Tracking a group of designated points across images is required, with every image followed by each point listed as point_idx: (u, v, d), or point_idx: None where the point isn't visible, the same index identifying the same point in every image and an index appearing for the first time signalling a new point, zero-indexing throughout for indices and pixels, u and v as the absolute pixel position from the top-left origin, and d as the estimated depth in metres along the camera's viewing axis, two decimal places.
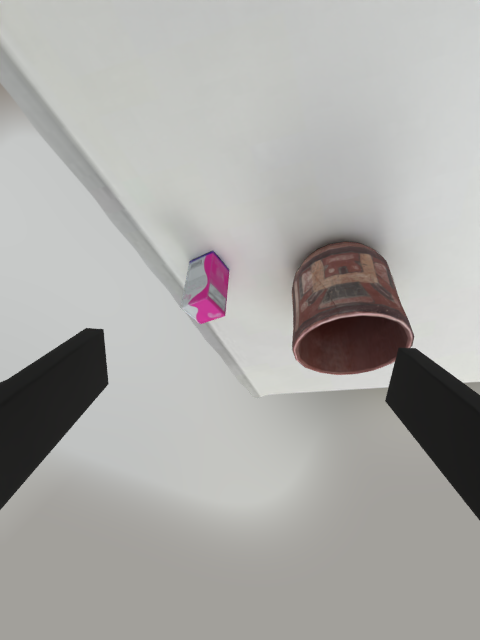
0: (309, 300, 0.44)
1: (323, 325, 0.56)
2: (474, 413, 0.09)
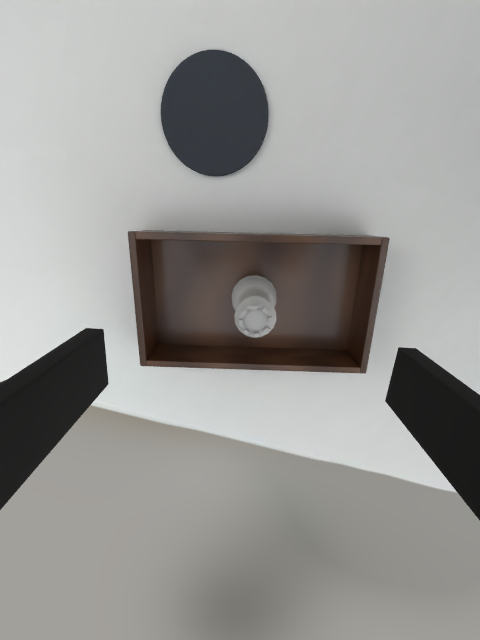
0: None
1: None
2: (474, 413, 0.09)
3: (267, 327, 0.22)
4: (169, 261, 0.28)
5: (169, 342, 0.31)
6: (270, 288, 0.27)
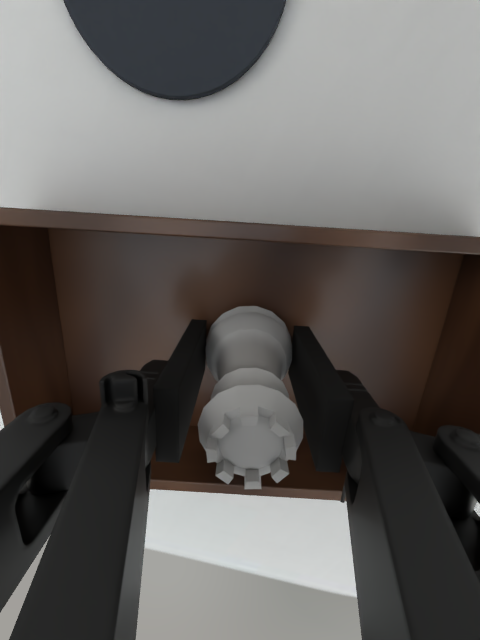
0: None
1: None
2: (313, 370, 0.11)
3: (281, 463, 0.08)
4: (87, 272, 0.15)
5: None
6: (282, 335, 0.14)
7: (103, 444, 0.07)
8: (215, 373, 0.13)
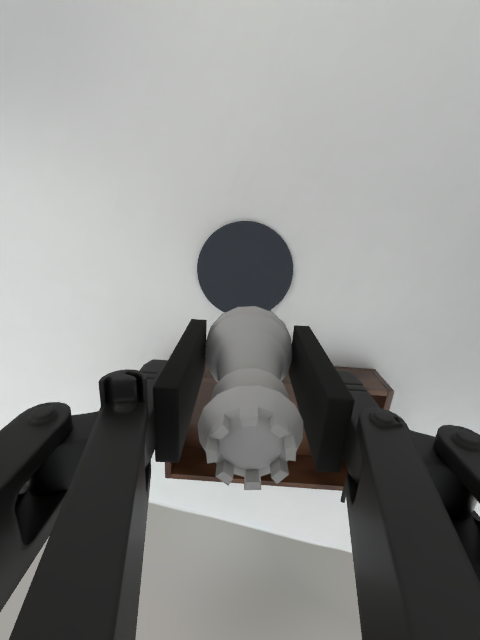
0: None
1: None
2: (313, 370, 0.11)
3: (280, 464, 0.08)
4: None
5: (189, 445, 0.34)
6: (282, 336, 0.14)
7: (103, 444, 0.07)
8: (215, 373, 0.13)
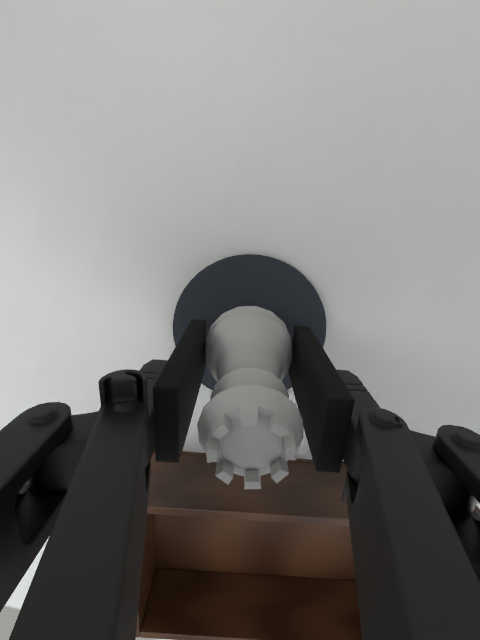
0: None
1: None
2: (313, 370, 0.11)
3: (280, 463, 0.08)
4: None
5: (171, 566, 0.24)
6: (282, 335, 0.14)
7: (103, 444, 0.07)
8: (215, 373, 0.13)
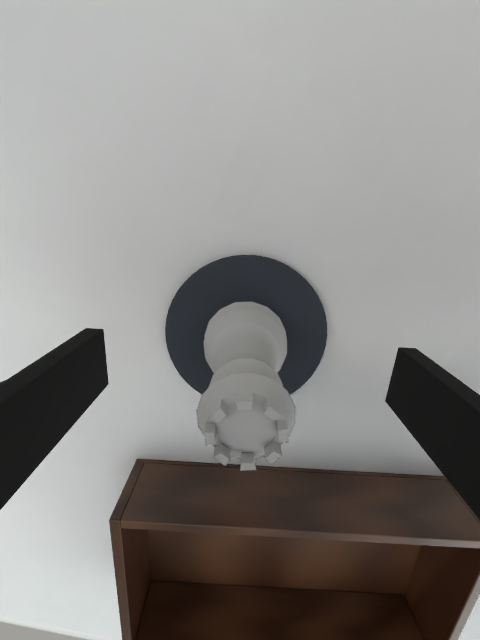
0: None
1: None
2: (474, 413, 0.09)
3: (274, 446, 0.09)
4: None
5: (166, 578, 0.23)
6: (277, 329, 0.14)
7: None
8: (213, 366, 0.14)
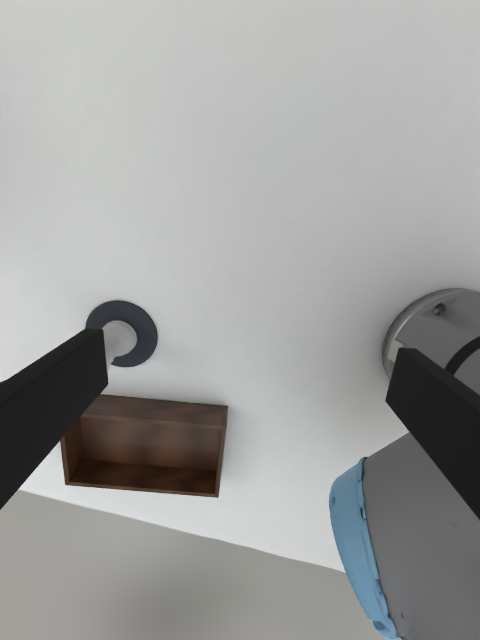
0: None
1: None
2: (474, 413, 0.09)
3: None
4: None
5: (92, 459, 0.44)
6: (126, 333, 0.35)
7: None
8: None
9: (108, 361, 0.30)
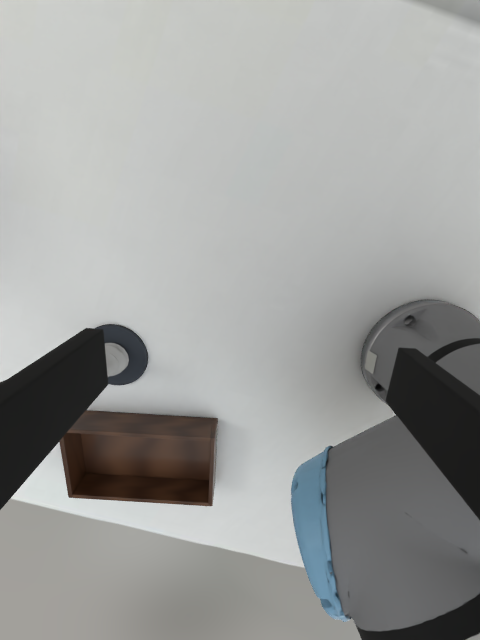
0: None
1: None
2: (474, 413, 0.09)
3: None
4: None
5: (93, 472, 0.47)
6: (118, 354, 0.38)
7: None
8: None
9: None
